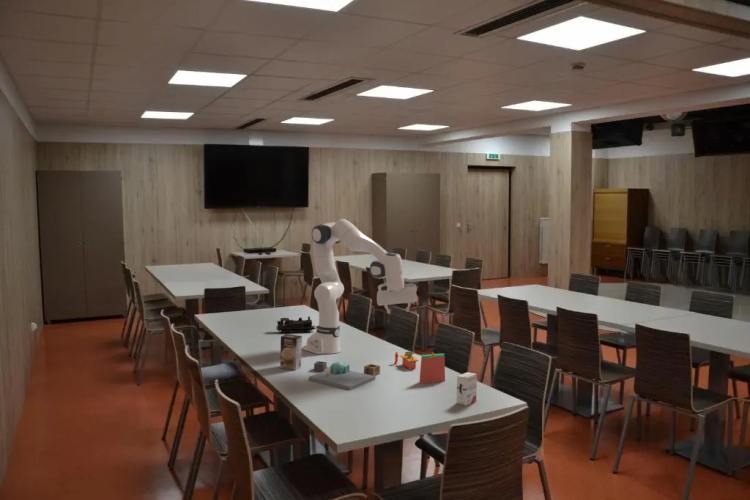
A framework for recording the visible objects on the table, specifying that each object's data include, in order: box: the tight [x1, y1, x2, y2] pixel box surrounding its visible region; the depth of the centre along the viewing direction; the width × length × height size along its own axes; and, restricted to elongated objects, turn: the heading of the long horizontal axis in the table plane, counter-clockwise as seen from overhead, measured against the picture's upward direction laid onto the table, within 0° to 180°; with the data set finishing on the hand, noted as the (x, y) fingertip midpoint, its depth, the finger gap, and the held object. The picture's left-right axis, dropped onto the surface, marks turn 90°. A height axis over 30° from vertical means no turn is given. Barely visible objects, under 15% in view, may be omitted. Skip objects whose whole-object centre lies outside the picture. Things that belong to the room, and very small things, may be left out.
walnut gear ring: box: [363, 363, 381, 377], centre depth 285 cm, size 6×7×4 cm
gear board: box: [308, 361, 376, 391], centre depth 275 cm, size 24×20×6 cm
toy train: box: [275, 316, 316, 335], centre depth 372 cm, size 8×25×10 cm, turn 105°
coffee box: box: [279, 333, 303, 371], centre depth 292 cm, size 9×6×16 cm
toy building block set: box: [394, 351, 446, 384], centre depth 290 cm, size 12×35×14 cm, turn 22°
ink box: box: [456, 372, 478, 406], centre depth 247 cm, size 8×5×12 cm, turn 140°
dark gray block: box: [313, 360, 328, 373], centre depth 290 cm, size 5×5×4 cm
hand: (398, 312), depth 293 cm, fingers open, 8 cm apart
